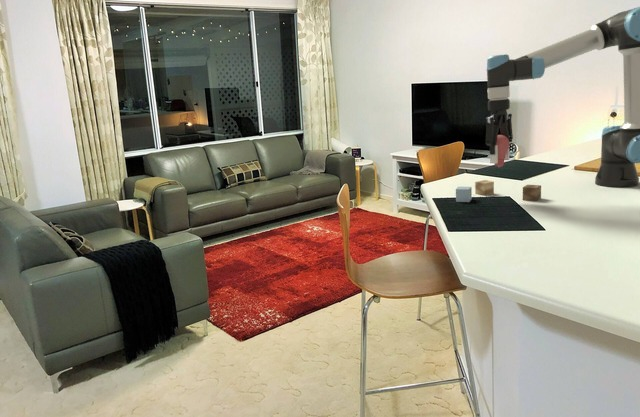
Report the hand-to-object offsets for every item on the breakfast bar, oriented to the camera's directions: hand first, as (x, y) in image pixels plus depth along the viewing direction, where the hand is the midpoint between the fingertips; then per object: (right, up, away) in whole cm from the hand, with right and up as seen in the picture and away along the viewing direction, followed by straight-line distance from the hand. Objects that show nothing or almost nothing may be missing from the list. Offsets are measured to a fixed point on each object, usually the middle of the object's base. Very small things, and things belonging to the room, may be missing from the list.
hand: (499, 161), depth 191 cm
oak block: (-1, -12, +15) cm, 19 cm away
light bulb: (0, -2, +1) cm, 2 cm away
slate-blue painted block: (-12, -15, +6) cm, 20 cm away
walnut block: (+12, -14, -1) cm, 18 cm away
